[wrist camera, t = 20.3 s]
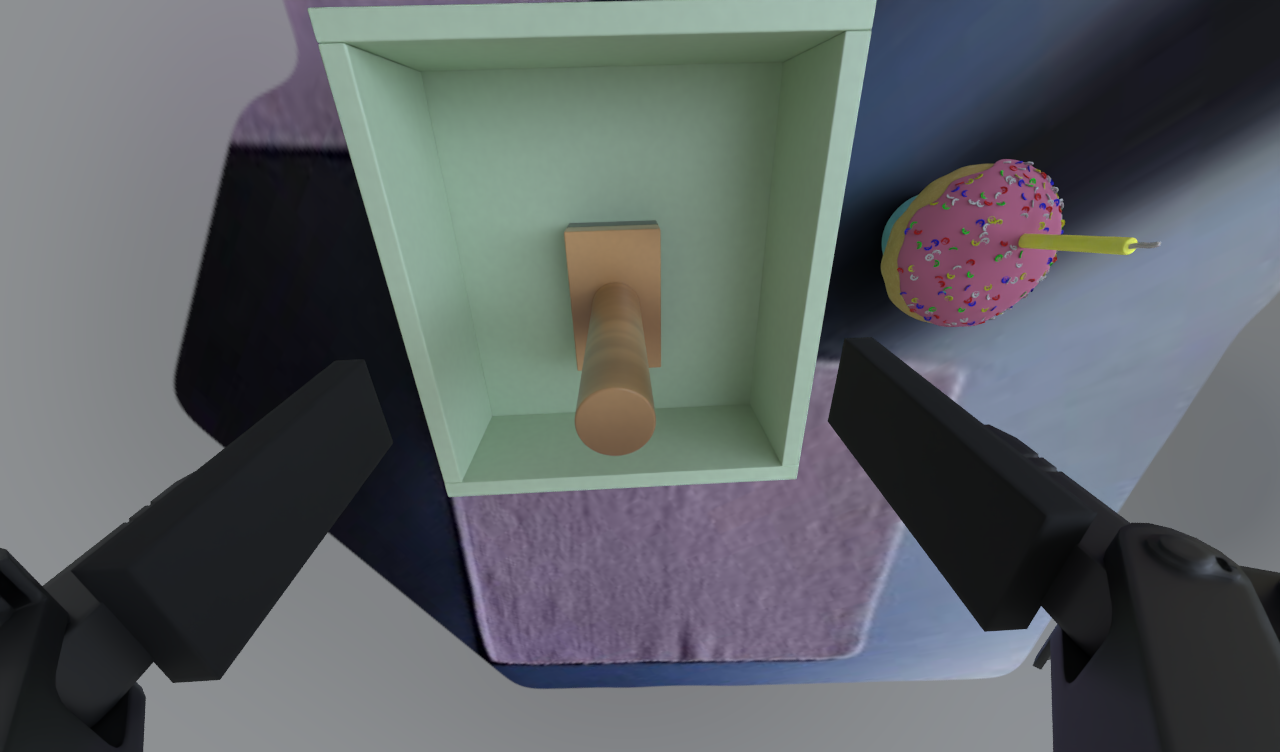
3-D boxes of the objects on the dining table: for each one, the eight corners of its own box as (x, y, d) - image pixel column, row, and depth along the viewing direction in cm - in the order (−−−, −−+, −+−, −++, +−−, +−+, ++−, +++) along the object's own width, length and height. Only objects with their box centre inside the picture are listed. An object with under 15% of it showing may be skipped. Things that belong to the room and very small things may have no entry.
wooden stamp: (568, 222, 26) (517, 305, 12) (656, 220, 26) (698, 298, 12) (580, 350, 29) (551, 521, 16) (657, 347, 29) (690, 514, 16)
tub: (403, 51, 23) (305, 7, 15) (797, 41, 23) (878, -6, 16) (484, 420, 33) (447, 497, 25) (758, 407, 33) (796, 479, 26)
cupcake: (928, 126, 25) (1157, 112, 14) (1019, 213, 28) (1273, 255, 17) (822, 257, 28) (947, 325, 18) (912, 325, 31) (1070, 420, 20)
